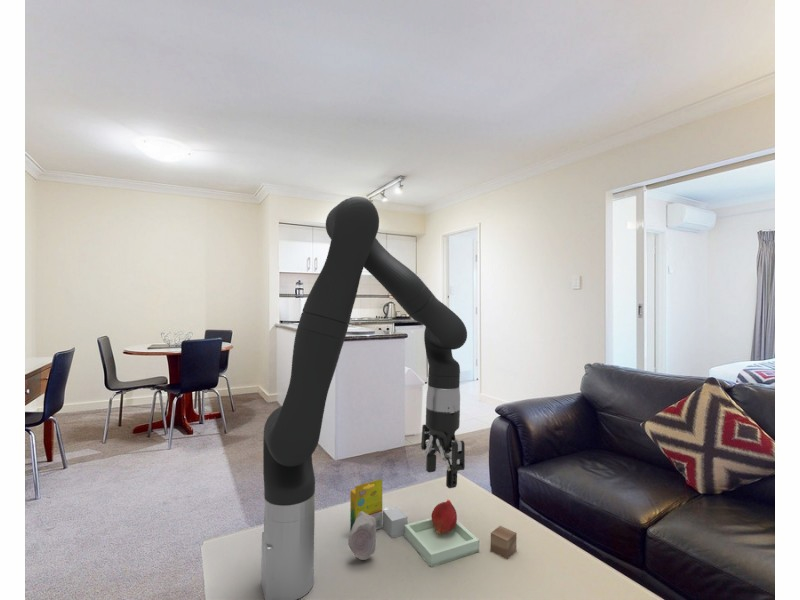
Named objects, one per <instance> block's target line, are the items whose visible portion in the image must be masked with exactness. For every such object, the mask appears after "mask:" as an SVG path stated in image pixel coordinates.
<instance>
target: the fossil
mask: <svg viewBox="0 0 800 600" xmlns="http://www.w3.org/2000/svg"><path fill="white" fill-rule="evenodd" d="M347 545H348V548H349V549H350V552H351V553H352V554H353V555H354V556H355V557H356V558H357V559H359V560H363V561H364V560H365V561H366V560H368V559H370V558H371V556H372V555H374V554H375V552H376V548H377V529H376V520H375V518H374V517H371V516H369V515H368V514H365V513H364V512H363V511H361V512H359V514H358V515H357V519H356V521H355V523H354V524H353V527H352V529H351V531H350V533H349V535H348V543H347Z"/></svg>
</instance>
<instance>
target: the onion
mask: <svg viewBox="0 0 800 600" xmlns="http://www.w3.org/2000/svg"><path fill="white" fill-rule="evenodd" d="M430 515H431V517H430V518H432V522H433V525H434V527H435V529H436V531H437V533H439V534H441V533H446V532H449V531H451V530H452V529H453V528H454V527H455V525H456V522H457V521H458V515H457V510H456V508H455V507H454V505H453V504H452V501H451V500H450V499H446V501H443V502H440V503H438V504H436V506H435V507H434V508H433V509H432V512H431V514H430Z"/></svg>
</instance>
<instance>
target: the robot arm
mask: <svg viewBox="0 0 800 600" xmlns="http://www.w3.org/2000/svg"><path fill="white" fill-rule="evenodd" d="M379 227H380V216H379V212H378V210H377V208H376V206H375V204H374V203H373V202H372V201H371V200H370V199H368V198H366V197H364V196H352V197H351V196H350V197H349V198H346V199H344V200H342V201H341V202H339V203H338V204H337V205H336V206H334V207H333V208H332V209H331V210H330V211H329V212H328V214H327V216H326V219H325V231H326V233H327V236H328V237H329V239H330V243H329V248H328V252H327V255H326V259H325V262H324V264H323V266H322V269H321V271H320V273H319V274H318V275H317V278H316V280H315V282H314V284H313V286H312V287H311V289H310V292H309V293H308V295H307V298H306V300H305V303H304V306H303V309H302V312H301V314H300V317H299V322H298V325H297V328H296V331H295V337H294V342H293V349H292V358H291V359H292V360H291V369H290V370H291V371H290V377H289V378H290V379H289V384H288V388H287V392H286V394H285V398H284V400H283V403H282V405H281V406H279V407H277V408H276V409H274V410H273V411H272V412H271V413H270V415H269V416H268V417H267V419H266V421H265V423H264V427H263V437H262V438H263V442H262V443H263V446H262V448H263V453H262V454H263V462H262V464H263V465H262V466H263V468H262V469H263V473H262V474H263V487H264V490H263V491H264V492H263V494H264V496H263V497H264V498H263V531H262V532H261V559H260V560H261V566H260V567H261V569H260V576H261V577H260V583H261V588H262V593H263V597H264V600H298V599H301V598H303V597H304V596H306V595H307V594H308V592H310V591H311V589H312V587H314V578H315V516H316V515H315V510H316V509H315V507H316V506H315V505H316V503H315V502H316V478H315V477H316V476H315V473H314V464H313V454H314V452H315V451H316V449H317V447H318V444H319V442H320V436H321V430H322V424H323V420H324V413H325V407H326V402H327V397H328V394H329V391H330V386H331V384H332V381H333V377H334V376H335V371H336V368H337V366H338V363H339V359H340V355H341V352H342V348H343V346H344V343H345V339H346V336H347V332H348V328H349V325H350V321H351V317H352V314H353V308H354V305H355V302H356V299H357V294H358V291H359V290H358V289H359V285H360V280H361V278H362V274H363V270H364V269H366V271H367V272H368V273H369V274H371V276H372V277H374V279H375V280H377V281H378V282H379V284H380V285H382V287H383V288H384V289H385V290H386V292H388V293H389V294H390V295H391V297H393V299H394V300H395V301H396V302H397V303H398V304H399V306H400V307H401V308H402V309H403V311H405V312H406V313H407V315H408V316H409V317H410V318H411V319H412V320H414V321H415V322H418V323H420V324H421V325H423V326H424V327H425V328H424V334H423V335H424V337H423V340H424V342H423V343H424V346H425V353H426V360H427V363H428V375H427V391H426V399H425V400H426V402H425V404H426V406H425V407H426V408H425V424H422V427H421V445H420V448H421V450H422V451H424V454H425V456H426V459H425V460H426V461H425V464H426V465H425V471H426V472H427V473H434V472H436V471H437V455H436V454H437V453H438V454H440V456H441V460H442V461H444V463H445V466H446V477H445V479H446V480H445V481H446V482H445V487H447V488H448V489H454V488H456V487H457V486H458V472H459V471H464V470H465V469H466V467H465V466H466V465H465V462H466V461H465V459H466V458H465V457H466V456H465V453H466V452H465V444H466V443H465V441H464V440H457V438H456V431H457V430H459V429H460V425H461V424H460V417H461V391H460V383H461V382H460V376H461V375H460V374H461V367H460V364H459V362H458V361H457V360H456V359H454V357H453V353H452V352H453V350H457V349H460V348H462V347H463V346H464V345H465V343H466V341H467V339H468V331H467V327H466V325H465V323H464V321H463V320H462V319H461V318H460V317H459V316H458V315H457V314H456V313H455V312H454V311H453V310H452V309H450V308H449V307H448V306H447V305H446V304H444V303H443V302H441V300H439V299H438V298H437V297H436V295H435V294H434V293H433V292H432V291H431V290H430V288H429V287H428V286H427V285H426V283H425V282H424V281H423V280H422V279H421V278H420V277H419V276H418V275H417V274H416V273H415V272H414V271H413V270H411V268H409V267H407V266H406V265H405V264H404V263H402V262H401V261H400V260H398V259H397V258H396V257H395V256H393V255H392V254H391V253H390V252H389V251H388V250H387V249H386V248H385V247H384V246H383V245H382V244H381V242H380V241H379V240H378V239H377V236H378V235H377V234H378V232H379V229H380V228H379ZM427 441H428V442H427ZM426 442H427V443H426ZM450 460H451V461H450ZM458 460H459V461H458Z"/></svg>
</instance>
